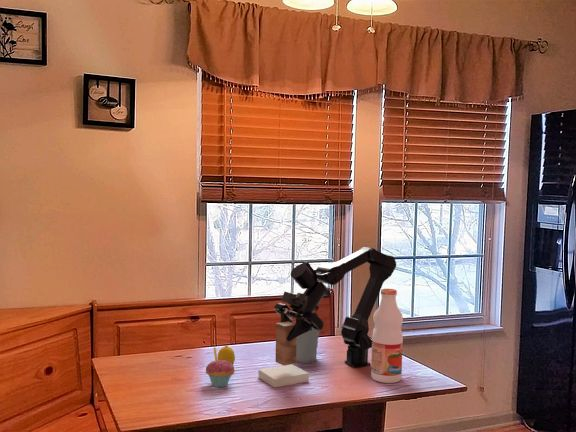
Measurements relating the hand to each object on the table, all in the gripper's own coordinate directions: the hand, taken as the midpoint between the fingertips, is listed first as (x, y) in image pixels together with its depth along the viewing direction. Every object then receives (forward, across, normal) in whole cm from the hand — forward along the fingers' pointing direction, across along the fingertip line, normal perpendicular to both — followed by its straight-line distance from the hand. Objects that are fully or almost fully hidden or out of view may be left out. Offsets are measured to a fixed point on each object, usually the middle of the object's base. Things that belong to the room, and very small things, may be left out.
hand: (282, 338), depth 177 cm
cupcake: (+21, -9, -2) cm, 23 cm away
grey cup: (-5, -14, +24) cm, 28 cm away
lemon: (+15, -19, +4) cm, 25 cm away
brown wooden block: (+4, 0, +6) cm, 8 cm away
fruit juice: (-10, +16, +30) cm, 36 cm away
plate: (+8, -2, +11) cm, 14 cm away
